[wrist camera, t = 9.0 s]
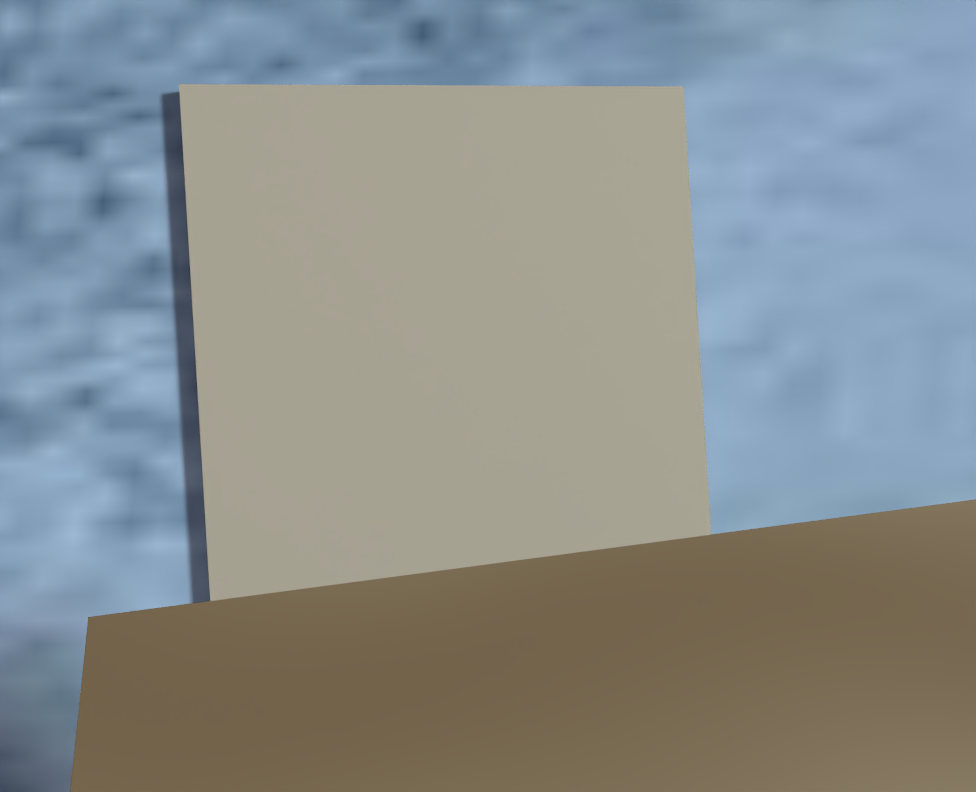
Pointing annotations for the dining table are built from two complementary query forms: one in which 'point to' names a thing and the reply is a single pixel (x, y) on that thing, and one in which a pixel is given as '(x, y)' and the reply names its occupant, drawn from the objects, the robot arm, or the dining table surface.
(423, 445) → the mat
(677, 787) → the green and tan block
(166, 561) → the dining table surface
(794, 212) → the dining table surface
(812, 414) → the dining table surface
